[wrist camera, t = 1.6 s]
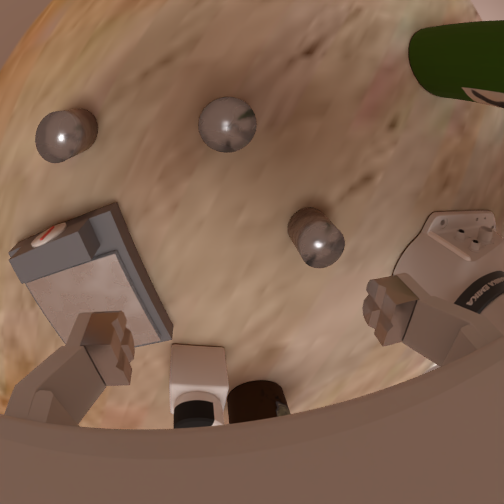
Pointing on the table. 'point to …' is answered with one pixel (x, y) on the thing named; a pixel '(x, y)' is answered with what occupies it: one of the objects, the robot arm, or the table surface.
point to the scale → (89, 256)
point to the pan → (93, 296)
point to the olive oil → (256, 402)
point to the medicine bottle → (197, 385)
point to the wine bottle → (461, 61)
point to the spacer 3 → (315, 237)
